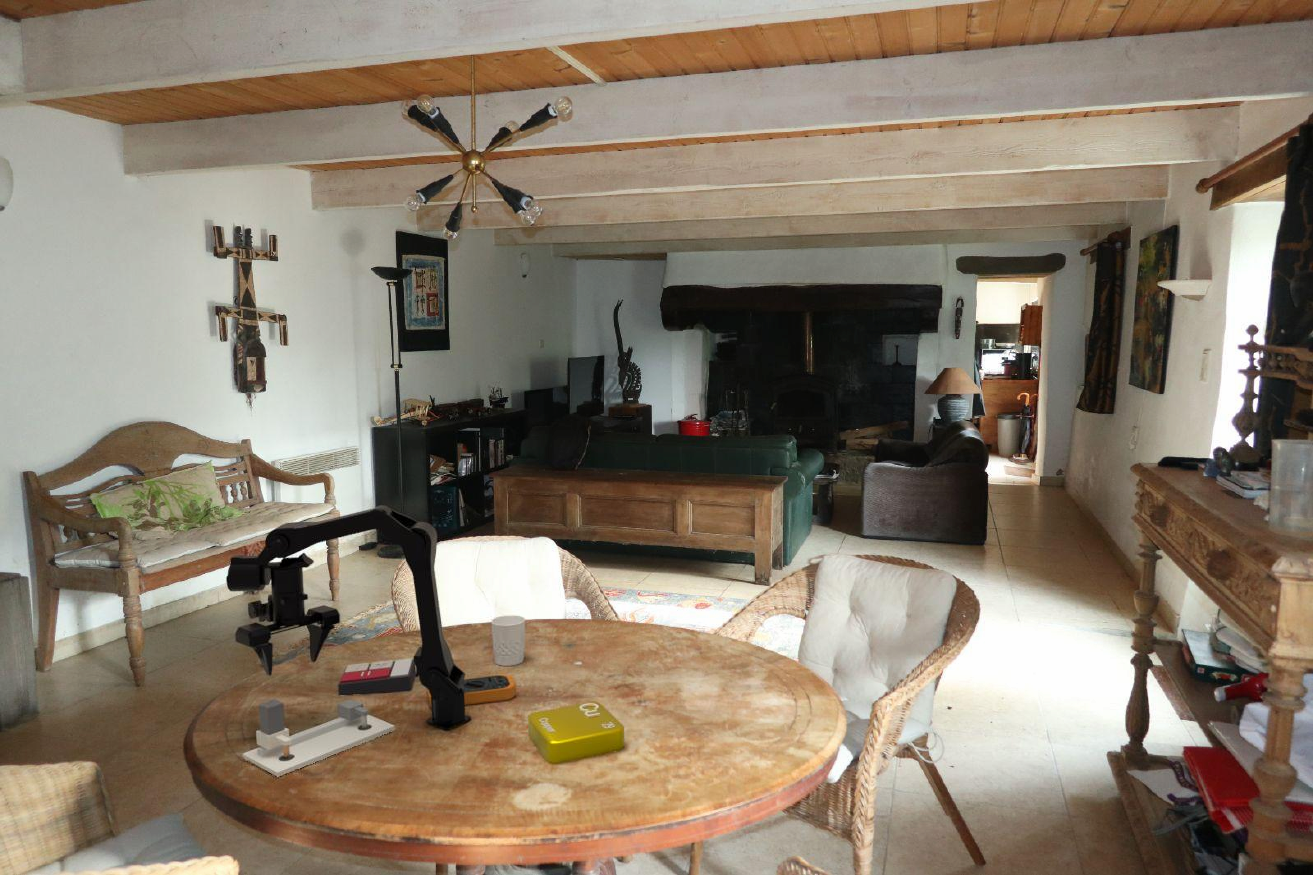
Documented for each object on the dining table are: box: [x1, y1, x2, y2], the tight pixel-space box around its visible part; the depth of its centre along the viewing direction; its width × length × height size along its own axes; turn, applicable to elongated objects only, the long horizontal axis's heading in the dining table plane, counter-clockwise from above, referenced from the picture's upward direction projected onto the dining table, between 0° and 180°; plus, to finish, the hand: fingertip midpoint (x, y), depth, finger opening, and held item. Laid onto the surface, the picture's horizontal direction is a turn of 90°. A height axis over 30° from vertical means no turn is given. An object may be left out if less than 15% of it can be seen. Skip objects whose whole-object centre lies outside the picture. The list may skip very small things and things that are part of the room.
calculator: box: [337, 658, 416, 696], centre depth 197 cm, size 11×4×15 cm
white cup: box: [490, 614, 526, 667], centre depth 210 cm, size 8×8×10 cm
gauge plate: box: [241, 698, 396, 778], centre depth 166 cm, size 12×24×5 cm, turn 142°
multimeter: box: [426, 673, 517, 708], centre depth 188 cm, size 9×18×3 cm, turn 109°
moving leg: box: [255, 698, 292, 757], centre depth 160 cm, size 7×4×8 cm, turn 52°
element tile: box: [527, 701, 625, 765], centre depth 167 cm, size 15×15×5 cm
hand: (291, 668), depth 173 cm, fingers open, 9 cm apart
